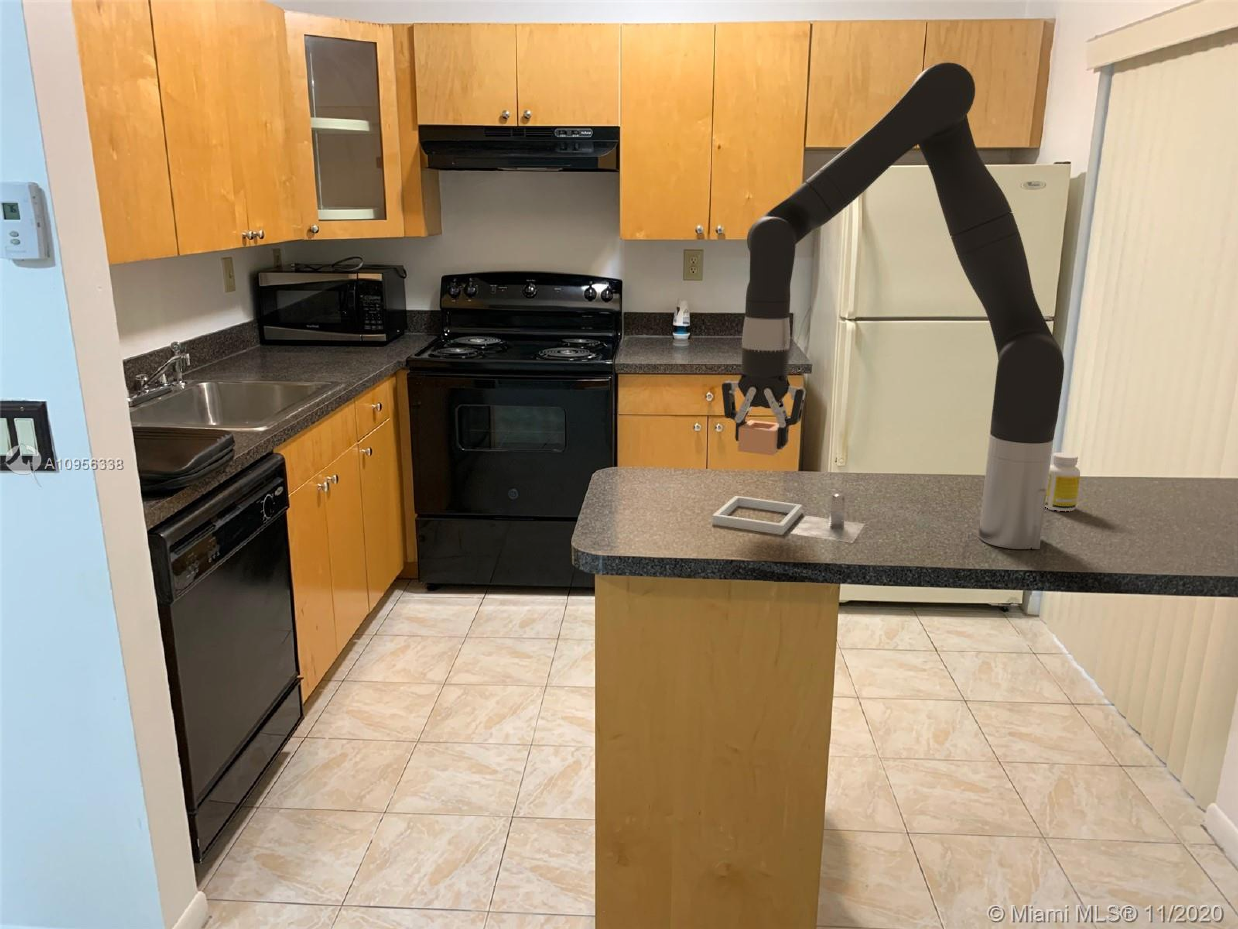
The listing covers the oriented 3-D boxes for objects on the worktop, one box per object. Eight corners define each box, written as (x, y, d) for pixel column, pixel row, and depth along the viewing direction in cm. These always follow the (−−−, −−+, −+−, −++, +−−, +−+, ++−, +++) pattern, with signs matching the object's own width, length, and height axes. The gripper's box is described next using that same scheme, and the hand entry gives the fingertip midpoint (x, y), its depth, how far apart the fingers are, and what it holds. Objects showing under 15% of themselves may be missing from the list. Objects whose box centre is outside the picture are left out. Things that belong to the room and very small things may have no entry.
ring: (783, 447, 154) (784, 423, 153) (773, 455, 149) (774, 431, 148) (749, 443, 157) (750, 420, 156) (737, 451, 152) (738, 427, 151)
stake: (864, 529, 154) (867, 492, 152) (852, 548, 145) (855, 509, 143) (805, 521, 158) (807, 484, 156) (790, 539, 149) (792, 501, 148)
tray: (801, 518, 159) (802, 504, 159) (782, 540, 149) (783, 525, 148) (735, 509, 164) (735, 495, 164) (712, 529, 154) (712, 515, 153)
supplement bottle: (1081, 509, 164) (1089, 456, 162) (1062, 514, 162) (1069, 460, 159) (1054, 501, 169) (1061, 449, 166) (1035, 506, 166) (1042, 453, 164)
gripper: (815, 345, 149) (809, 446, 153) (730, 339, 155) (727, 436, 159) (803, 351, 142) (797, 456, 147) (715, 345, 148) (712, 446, 153)
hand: (760, 445), depth 153 cm, fingers closed on ring, 6 cm apart
